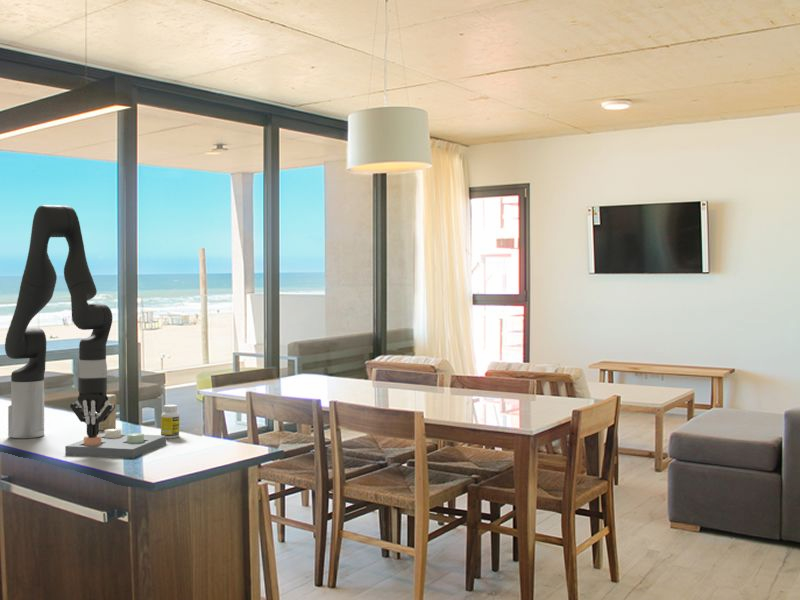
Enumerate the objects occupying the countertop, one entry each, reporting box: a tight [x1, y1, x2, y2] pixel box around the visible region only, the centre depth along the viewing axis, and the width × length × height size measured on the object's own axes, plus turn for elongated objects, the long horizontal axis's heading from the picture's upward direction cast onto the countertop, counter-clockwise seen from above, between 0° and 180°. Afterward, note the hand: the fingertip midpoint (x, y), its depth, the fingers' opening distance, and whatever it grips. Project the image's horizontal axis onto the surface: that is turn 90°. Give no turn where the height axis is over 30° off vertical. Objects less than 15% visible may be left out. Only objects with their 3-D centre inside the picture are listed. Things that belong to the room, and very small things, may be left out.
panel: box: [64, 432, 167, 459], centre depth 230 cm, size 20×20×2 cm
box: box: [99, 393, 117, 431], centre depth 261 cm, size 5×4×11 cm
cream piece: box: [104, 428, 122, 439], centre depth 236 cm, size 5×5×4 cm
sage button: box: [127, 432, 145, 444], centre depth 229 cm, size 5×5×4 cm
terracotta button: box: [83, 435, 101, 446], centre depth 226 cm, size 5×5×4 cm
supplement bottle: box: [160, 404, 180, 439], centre depth 249 cm, size 5×5×10 cm
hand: (92, 437), depth 225 cm, fingers closed
